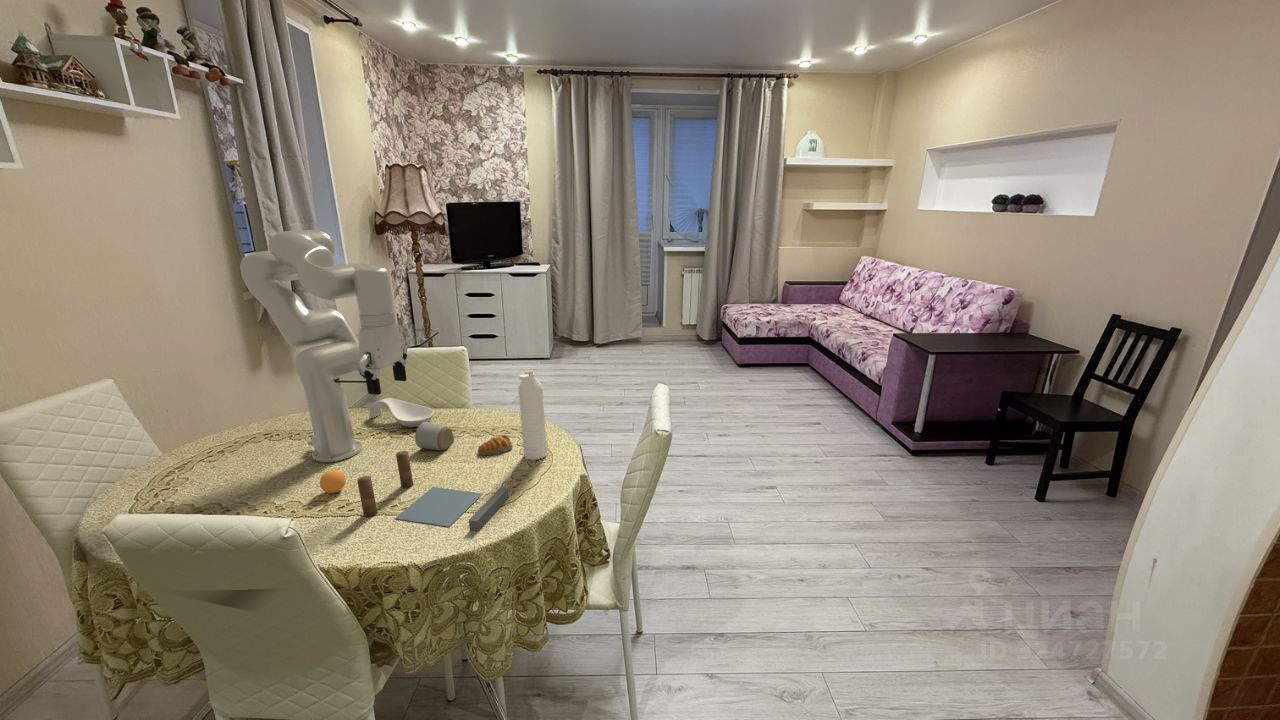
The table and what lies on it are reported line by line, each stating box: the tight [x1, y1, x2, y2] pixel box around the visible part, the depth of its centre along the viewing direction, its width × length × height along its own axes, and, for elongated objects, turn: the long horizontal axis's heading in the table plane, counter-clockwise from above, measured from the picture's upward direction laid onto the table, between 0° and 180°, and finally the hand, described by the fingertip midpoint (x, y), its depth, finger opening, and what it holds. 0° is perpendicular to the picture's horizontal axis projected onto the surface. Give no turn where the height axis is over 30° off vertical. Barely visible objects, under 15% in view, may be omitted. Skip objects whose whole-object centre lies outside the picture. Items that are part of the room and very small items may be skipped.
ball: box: [319, 469, 347, 494], centre depth 130 cm, size 6×6×6 cm
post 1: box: [356, 475, 378, 518], centre depth 120 cm, size 3×3×9 cm
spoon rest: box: [368, 397, 435, 428], centre depth 172 cm, size 24×12×7 cm, turn 70°
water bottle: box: [517, 369, 548, 461], centre depth 144 cm, size 9×6×25 cm
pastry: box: [477, 434, 513, 456], centre depth 151 cm, size 9×7×4 cm
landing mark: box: [394, 486, 484, 528], centre depth 124 cm, size 14×14×1 cm
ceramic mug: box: [414, 421, 456, 451], centre depth 154 cm, size 11×8×8 cm
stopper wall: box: [468, 487, 510, 532], centre depth 120 cm, size 2×14×2 cm, turn 166°
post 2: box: [395, 450, 414, 489], centre depth 132 cm, size 3×3×9 cm
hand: (388, 387), depth 130 cm, fingers open, 9 cm apart
